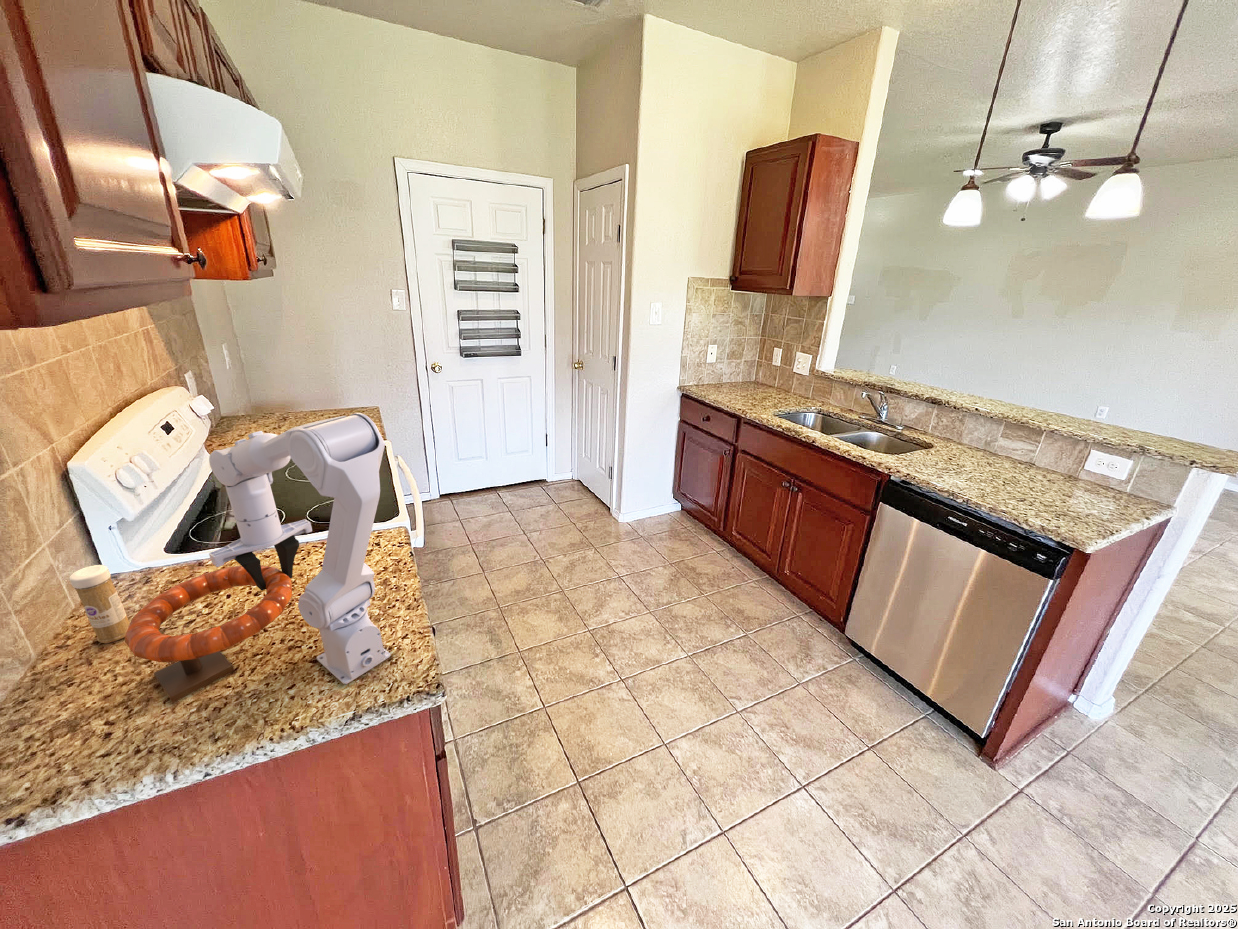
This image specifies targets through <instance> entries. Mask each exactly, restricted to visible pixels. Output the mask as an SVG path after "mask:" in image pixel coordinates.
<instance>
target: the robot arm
mask: <svg viewBox="0 0 1238 929" xmlns="http://www.w3.org/2000/svg"><path fill="white" fill-rule="evenodd" d="M247 436H248V438H249V439H246V438H243V439H239V440H236V441H235V442H234V446H230V447H226V448H223V449H214V450H213V451H212V452H211V453H210V454H209V458H208V462H209V467H210V470H211V472H212V473H213V476H214V477H215V478H216V479H217V481H218V482H219V483H221V484H222V485H223V486H224V487H225V490H226V494H227V497H228V500H229V503H230V504H229V505H230V507H231V509H232V514H233V516H234V521H235V523H236V527H237V530H238V533H239V536H240V538H238V539H237V540H234V541H232V542H231V543H229V544H227V545H225V546H223V547H220V548H218V549H215V550H214V551H212V552H209V553H208V555H209V558H210V561H211V564H212V565H213V566H214V567H215V568H219V567H221V566H224V565H225V563H227V562H230V561H233V560H234V561H236V562H237V563H238V564H239V566H242V567H243V568H244V569H245V570H246V571H247V572H248V573H249V574H250V576H251V577H252V578H253V580H254V581H255V583H256V585H257V586H256V587H257V588H258V589H259V590H260V591H262V592H263V591H266V583H265V581H264V578H263V575H262V571H261V565H262V564H261V559H259V558H258V557H257V556H256V554H255V553H254V552H257V551H260V550H264V549H267V548H268V549H269V548H272V547H274V549H275V552H276V554H277V557H278V561H279V566H280V570H281V571H282V572H283V573H285V574H286V575H287V576H289V578H290V579H291V580H292V578H293V570H294V562H295V559H296V555H297V552H298V550H299V548H300V541H299V540H298V539H297V538H296V536H299V535H302V534H309V533H312V532H313V527H312V522H311V521H309V520H307V519H306V518H304V519H302V520H297V521H294V522H289V523H285V524H281V521H280V516H279V513H278V509H277V506H276V502H275V497H274V495H273V490H272V486H271V485H272V484H273V482H274V477H273V472H275V471H278V470H280V469H281V470H282V469H283V468H285V467H286V466H287V465H288V464H289V463H290V461H291V460H292V463H294V464H295V466H296V467H297V468H298V469H299V470H300V471H301V472H302V473H303V475H304V476H305V478H306V479H307V480H308V481H309V482H310V484H311V485H312V487H313V488H315V490H316V491H317V493H318V494H319V495H320V496H321V497H328V498H333V503H332V509H331V515H330V519H329V520H330V521H329V526H328V532H327V536H326V537H327V538H326V542H325V549H324V556H323V561H322V566H321V570H320V571H319V572H318V573H317V574H316V575H315V576H314V577H313V578H312V579H311V580H310V581H309V582H308V583H307V584H306V586H305V587H304V592H303V593H302V594H301V595H300V596H299V597H298V602H297V603H298V604H297V608H298V611H299V614H300V615H301V617H302V619H303V620H304V621H305V623H307V625H309V626H310V627H312V628H314V629H318V631H319V634H320V635H319V636H320V638H321V643H322V647H323V651H324V652H322V653H321V654H319V655H317V656H316V661H317V662H318V663H320V664H321V665H322V666H323V667H324V668H325V669H326V670H327V671H328V672H329V673H331V675H333V676H334V677H335V678H336V679H337V680H338V681H340V682H341V683H342V684H343V685H348V684H350V683H351V682H353V681H354V680H356V679H357V678H359V677H361V676H362V675H364V674H365V673H367V672H368V671H370V670H372V669H374V668H375V667H376V666H378V665H379V664H382V663H383V662H384V661H386V660H388V659H389V658H391V652H389V651H388V650H387V649H386V648H384V643H383V639H382V633H381V630H380V629H379V628H378V626H377V625H375V624H374V623H373V622H372V620H371V619H370V617H369V612H368V607H370V606H371V602H370V599H372V598H373V597H374V595H375V592H376V584H375V580H374V577H375V572H374V571H373V569H372V568H371V567H370V566H369V565H368V564H367V563H366V562H365V561H366V556H367V551H368V549H369V548H368V547H369V544H370V539H371V535H372V530H373V527H374V521H375V517H376V513H377V510H378V505H379V501H380V497H381V482H380V481H381V480H380V469H381V465H382V460H383V457H384V456H383V455H384V451H385V448H386V447H385V446H386V442H385V440H384V438H383V435H382V434H381V432H380V430H379V428H378V427H377V424H376V423H375V422H374V421H373V420H372V418H370V417H369V416H368V415H367V414H365V413H362V412H354V413H351V414H350V415H349V416H346V415H341V416H336V417H331V418H326V419H321V420H316V421H312V422H309V423H305V424H302V425H297V426H294V427H291V428H289V429H287V430H285V431H284V432H281V433H280V434H276V433H271V432H263V431H262V430H259V431H254V432H251V433H249V434H248V435H247Z"/></svg>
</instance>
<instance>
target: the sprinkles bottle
mask: <svg viewBox="0 0 1238 929" xmlns="http://www.w3.org/2000/svg"><path fill="white" fill-rule="evenodd" d="M68 580H69V582H70V584H71V586H72V588H74V590H75V591H76V593H77V595H78V598H79V600H80V602H81V604H82V606H83V608H84V611H85V615H86V617H87V619H88V622H89V624H90V626H91V627H92V629H93V631H94V633H95V635H96V641H98V642H99V643H101V644H109V643H113V642H117V641H119V640H121V639H123V638H124V639H125V635H126V632H127V630H128V627H129V624H130V620H129V618H128V616H127V612H126V610H125V608H124V605H123V603H122V601H121V598H120V596H119V593H118V591H117V589H116V587H115V585H114V582H113V581H112V575H111V572H110V570H109V567H108V566H107V565H104V564H95V565H89V566H86V567H83V568H80V569H78V570H76V571H74V572H72V573H71V574H70V575H69V577H68Z"/></svg>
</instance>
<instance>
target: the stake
mask: <svg viewBox="0 0 1238 929" xmlns="http://www.w3.org/2000/svg"><path fill="white" fill-rule="evenodd" d="M234 672H235V668H234V666H233V664H232V663H231V662H230V661H229V660H228V659H227V657H226V656H225V655H224V654H223V653H222V651H218V652H215V653H212V654H209V655H206V656H203V657H200V658H197V659H190V660H182V661H175V662H174V663H172V664H170V665H168V666H165V667H163V668H161V669H159V670H157V671H156V672H155V671H154V672H153V675H154V678H155V680H156V681H157V682H158V684H159V685H160V687H161V688H162V690H163V691H164V693H165V694H166V696H167V698H168V699H169V700H170V702H171V703H173V704H174V703H175V702H177V701H180V700H181V699H183V698H186V697H187V696H190V695H191V694H194V693H195V692H197V691H199V690H201V689H202V688H204V687H206V686H208V685H210V684H212V683H214V682H216V681H219V679H221V678H224V677H225V676H227V675H229V674H231V673H234Z"/></svg>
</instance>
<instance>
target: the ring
mask: <svg viewBox="0 0 1238 929" xmlns="http://www.w3.org/2000/svg"><path fill="white" fill-rule="evenodd" d="M261 571H262V575H263V578H264V581H265V583H266V589H265V592H266V593H265V594H264V596H263V597H262V599H261V600H260V601H259V603H257V604H255V605H254V606H253V607H251V608H250V609H249V610H247V611H246V612H245V613H243V614H241V615H240V616H237V617H235V618H233V619H230V620H229V621H227V622H225V623H223V624H221V625H218V626H215V627H212V628H208V629H204V630H201V631H198V632H194V633H187V634H179V635H170V634H165V633H162V632H160V629H161V627H162V624H163V623H165V622H166V620H167V619H168V618H169V617H171V615H172V614H174V613H175V612H177V611H179V610H180V609H183V607H186V605H188V604H190V603H192V602H194V601H197V600H199V599H201V598H203V597H206V596H208V595H210V594H213V593H217V592H220V591H224V590H227V589H228V590H229V589H231V588H236V587H237V588H238V587H247V586H248V587H249V586H255V587H257V585H256V583H255V581H254V580H253V578H252V577H251V576H250V574H249V573H248V572H247V571H246V570H245V569H244V568H243V567H242V566H241V565H236V566H229V567H225V568H221V569H217V570H213V571H208V572H205V573H203V574H200V575H197V576H195V577H193V578H190V579H188V580H185V581H183V582H180V583H177V584H176V585H174V586H172V587H171V588H169V589H167V590H166V591H163V592H162V593H160V594H159V595H158V596H156V597H154V598H152V599H151V600H150V601H149V602H147V603H146V604H145V605H144V606H143V607H142V608H141V609H140V610H139V611H138V612H137V613H136V614H135V615H134V616H133V617H132V618H131V620H130V621H129V623H130V624H129V627H128V630H127V632H126V635H125V637H124V642H125V644H126V646H127V647H128V648H129V649H130V652H131V653H132V654H133V655H134V656H135V657H137V658H139V659H143V660H148V661H153V662H158V663H172V662H178V661H182V660H190V659H197V658H200V657H203V656H206V655H209V654H212V653H215V652H218V651H220V652H222V651H224V650H227V649H230V648H232V647H234V646H236V645H238V644H239V643H242V642H244V641H245V640H247V639H249V638H251V637H253V636H255V635H257V634H259V632H261V631H262V630H263V629H265V628H266V627H267V626H269V625H270V624H271V623H272V622H274V621H275V620H276V619H277V618H279V616H281V614H282V613H283V611H285V608H286V607H287V605H288V604H289V602H290V601H291V599H292V597H293V584H292V583H293V581H292V578H291V579H290V578H289V576H287V575H286V574H285V573H283V572H282V570H281V569H279V568H277V567H274V566H269V565H268V566H267V565H262V564H261Z"/></svg>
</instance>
